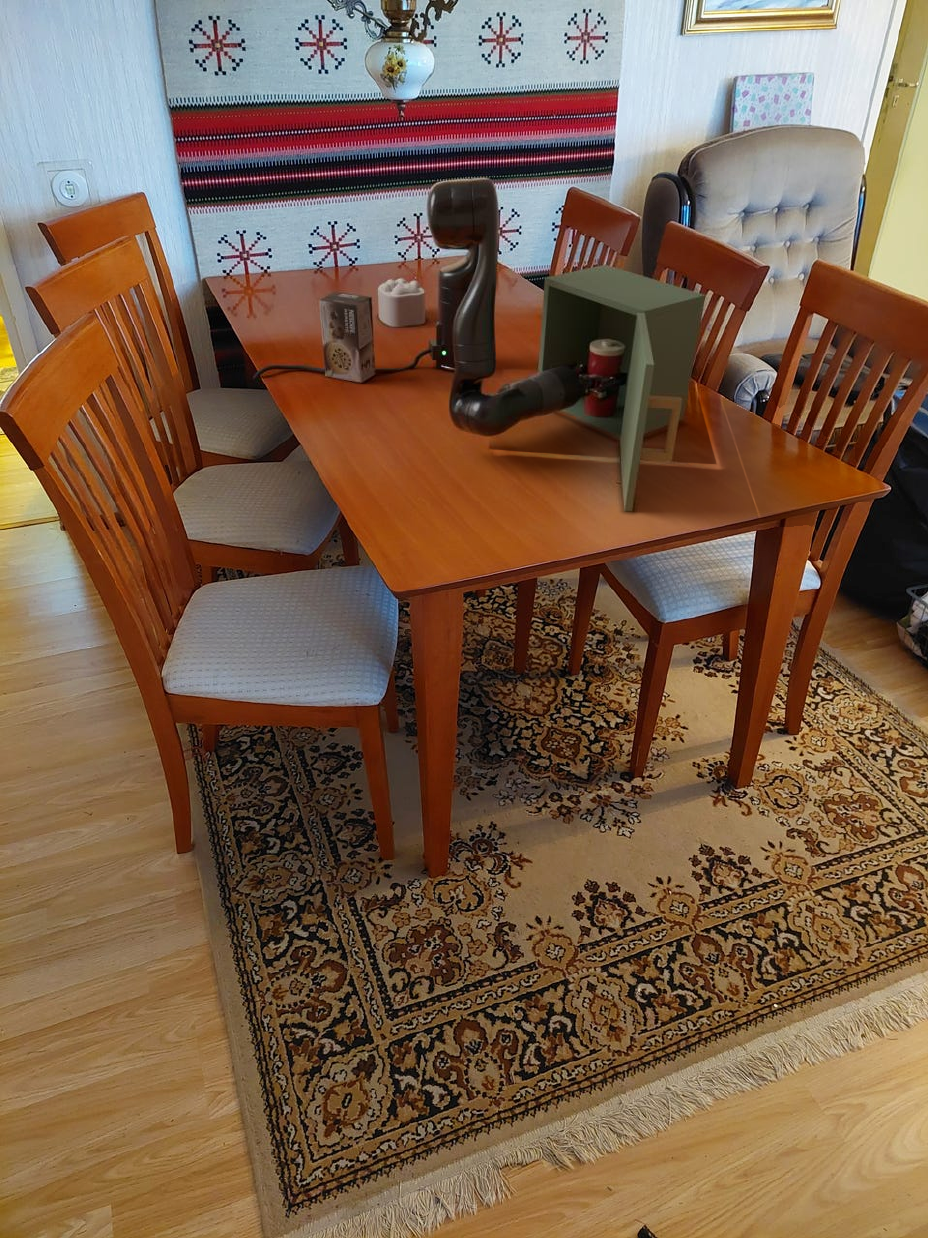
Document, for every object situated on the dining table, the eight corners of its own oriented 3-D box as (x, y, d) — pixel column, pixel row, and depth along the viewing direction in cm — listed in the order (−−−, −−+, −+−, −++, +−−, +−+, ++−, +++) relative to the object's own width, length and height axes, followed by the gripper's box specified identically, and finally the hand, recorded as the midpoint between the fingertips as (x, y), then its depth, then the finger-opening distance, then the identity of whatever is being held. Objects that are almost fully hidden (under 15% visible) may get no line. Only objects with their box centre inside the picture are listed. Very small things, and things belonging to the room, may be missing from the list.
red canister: (582, 416, 169) (590, 345, 160) (582, 403, 174) (590, 333, 166) (616, 418, 168) (626, 347, 160) (615, 405, 173) (624, 335, 165)
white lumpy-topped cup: (389, 328, 212) (388, 291, 207) (371, 312, 222) (370, 276, 216) (429, 323, 216) (429, 286, 210) (410, 308, 225) (409, 272, 220)
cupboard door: (654, 448, 160) (676, 314, 146) (664, 513, 141) (690, 366, 126) (619, 446, 161) (637, 312, 147) (624, 511, 141) (645, 364, 127)
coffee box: (376, 373, 188) (373, 296, 178) (361, 384, 183) (357, 304, 173) (339, 366, 191) (334, 290, 181) (323, 376, 186) (317, 298, 176)
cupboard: (625, 445, 161) (644, 310, 147) (535, 403, 176) (544, 277, 162) (682, 424, 170) (705, 294, 155) (591, 385, 185) (605, 264, 170)
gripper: (578, 384, 153) (643, 364, 161) (523, 360, 162) (587, 342, 170) (574, 424, 157) (638, 403, 166) (520, 399, 166) (583, 379, 175)
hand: (612, 372), depth 168 cm, fingers closed on red canister, 6 cm apart
